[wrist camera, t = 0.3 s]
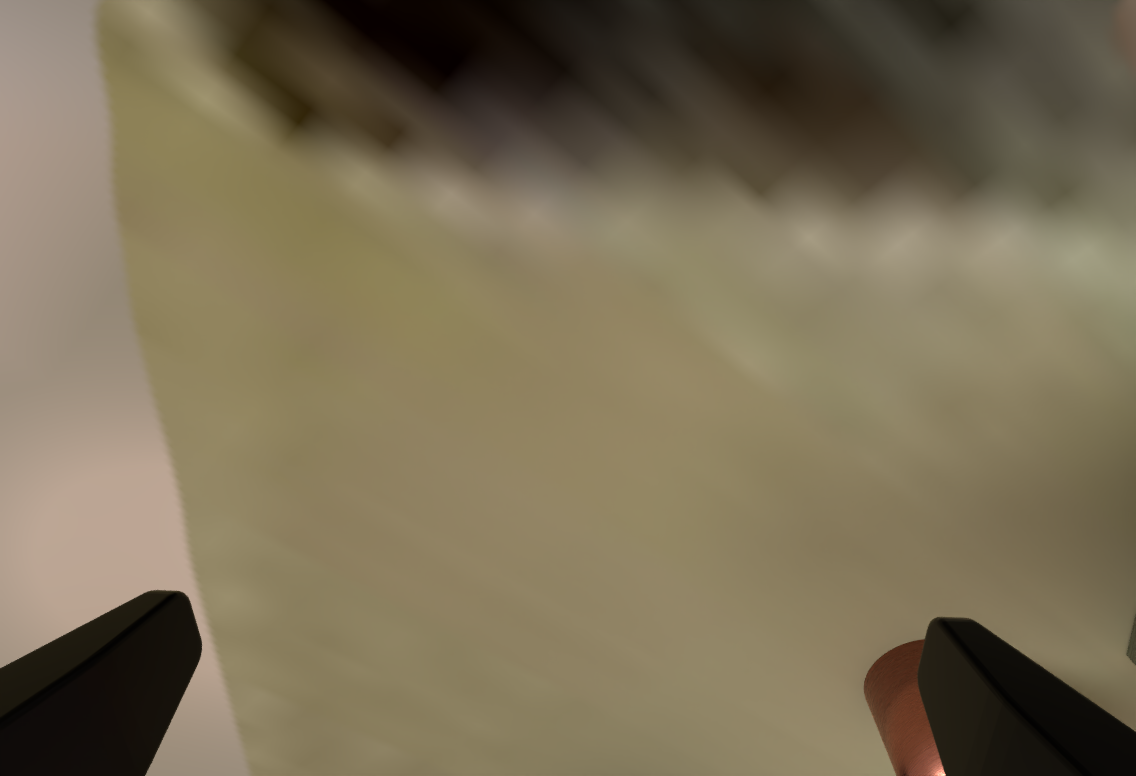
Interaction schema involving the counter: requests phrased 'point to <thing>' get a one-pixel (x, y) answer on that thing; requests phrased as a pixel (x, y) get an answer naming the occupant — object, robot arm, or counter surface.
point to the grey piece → (1132, 644)
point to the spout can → (902, 712)
